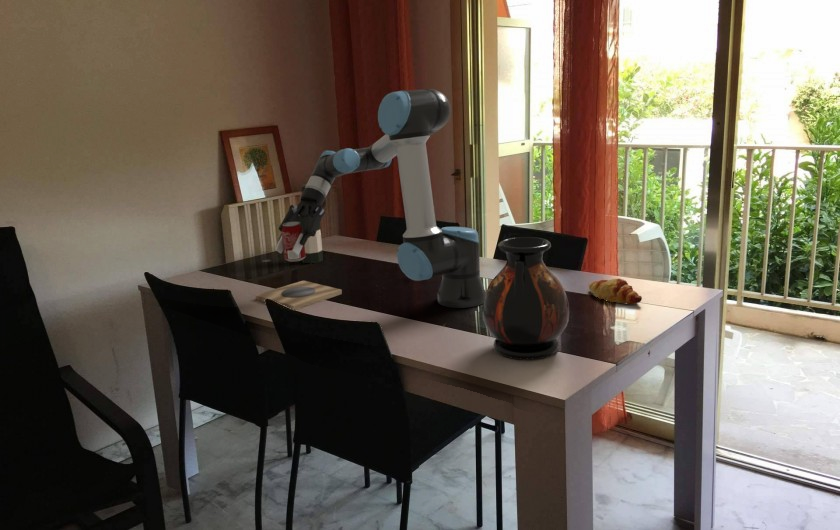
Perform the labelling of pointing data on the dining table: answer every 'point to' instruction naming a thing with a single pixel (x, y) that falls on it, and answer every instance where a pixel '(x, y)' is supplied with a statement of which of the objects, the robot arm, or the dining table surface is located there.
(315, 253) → the wine bottle
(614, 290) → the croissant
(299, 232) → the soda can
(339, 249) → the dining table surface
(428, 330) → the dining table surface
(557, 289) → the ceramic vase
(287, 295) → the oak board
